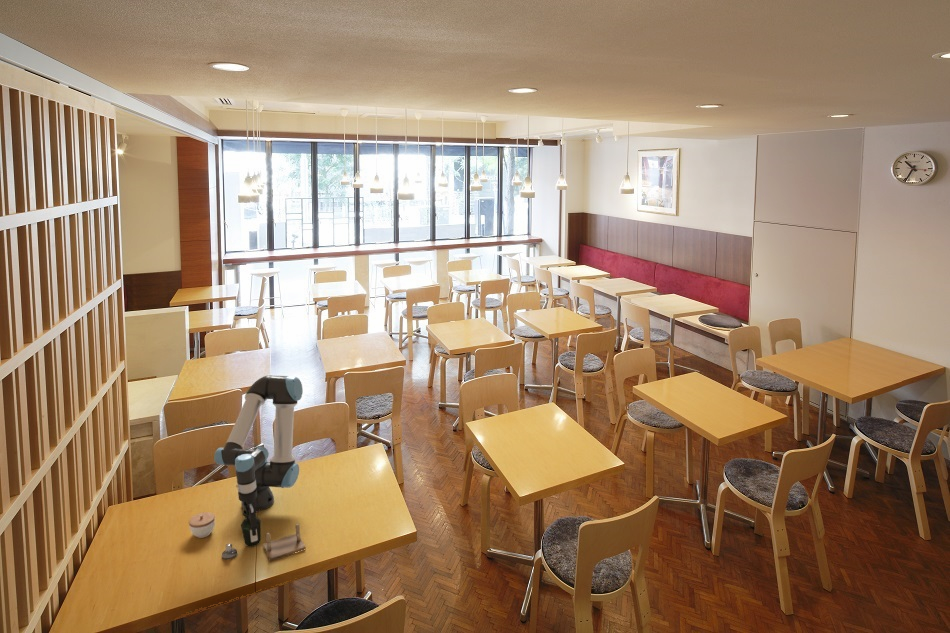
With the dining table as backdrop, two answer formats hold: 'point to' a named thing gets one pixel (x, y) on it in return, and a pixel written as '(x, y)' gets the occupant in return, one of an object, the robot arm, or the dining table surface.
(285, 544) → the rack
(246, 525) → the potion bottle
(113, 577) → the dining table surface
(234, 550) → the ring nut stud
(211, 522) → the lidded jar
